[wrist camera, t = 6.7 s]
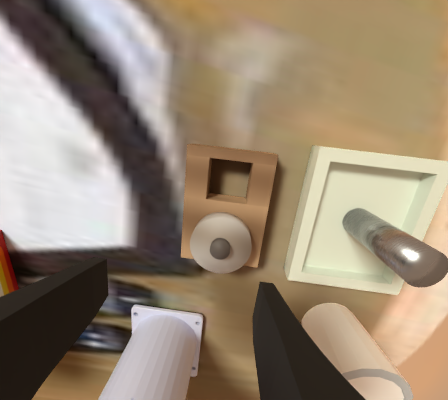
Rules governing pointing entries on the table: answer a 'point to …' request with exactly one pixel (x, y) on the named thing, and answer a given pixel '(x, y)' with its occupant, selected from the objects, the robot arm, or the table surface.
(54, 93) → the table surface
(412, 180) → the tray
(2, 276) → the baking soda box
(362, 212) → the pin
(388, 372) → the cream cylinder
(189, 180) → the block
